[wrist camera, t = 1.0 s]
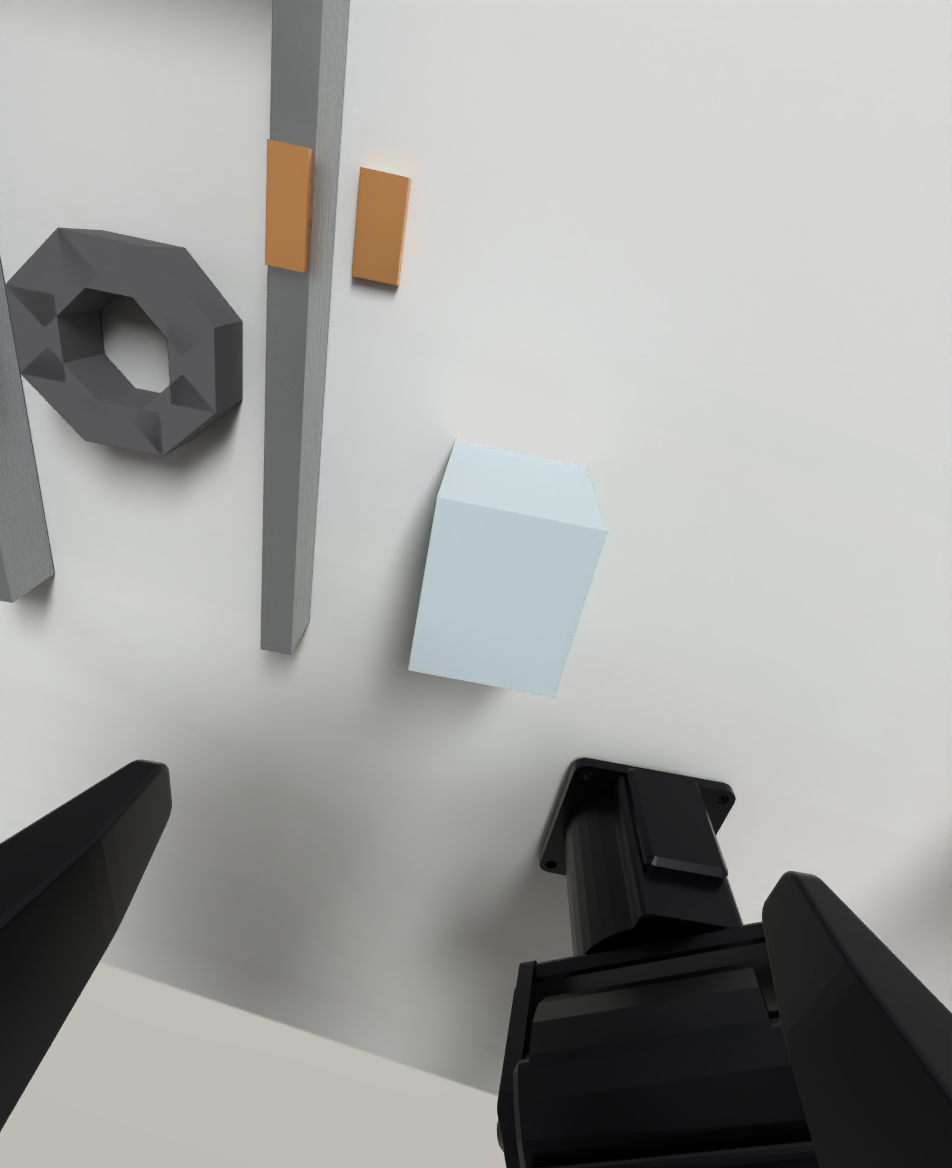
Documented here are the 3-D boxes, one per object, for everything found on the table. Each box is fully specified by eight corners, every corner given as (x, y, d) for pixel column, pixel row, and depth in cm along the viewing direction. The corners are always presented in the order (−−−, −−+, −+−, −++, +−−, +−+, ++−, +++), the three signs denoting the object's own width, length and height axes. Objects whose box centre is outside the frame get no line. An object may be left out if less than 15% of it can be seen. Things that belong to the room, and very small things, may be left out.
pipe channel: (359, 631, 22) (343, 670, 20) (-28, 558, 21) (-85, 590, 19) (445, -126, 12) (431, -198, 10) (-234, -289, 12) (-387, -401, 10)
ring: (242, 448, 19) (216, 466, 17) (71, 414, 18) (30, 429, 17) (242, 259, 16) (212, 260, 14) (45, 218, 16) (-7, 213, 14)
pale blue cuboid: (545, 603, 21) (554, 697, 16) (430, 581, 20) (407, 670, 16) (585, 465, 18) (607, 530, 14) (456, 439, 18) (436, 497, 14)
